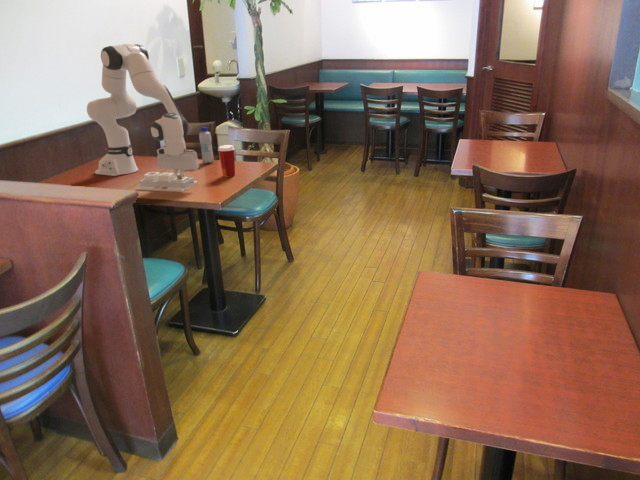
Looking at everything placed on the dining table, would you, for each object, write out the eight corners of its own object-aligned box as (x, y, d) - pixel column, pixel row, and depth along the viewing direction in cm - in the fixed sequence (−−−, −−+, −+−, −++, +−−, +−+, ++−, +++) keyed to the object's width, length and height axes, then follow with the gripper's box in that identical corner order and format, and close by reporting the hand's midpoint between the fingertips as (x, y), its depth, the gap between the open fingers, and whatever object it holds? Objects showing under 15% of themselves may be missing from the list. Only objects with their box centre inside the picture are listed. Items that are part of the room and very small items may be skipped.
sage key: (158, 181, 242) (157, 175, 241) (164, 178, 247) (163, 172, 246) (168, 182, 241) (167, 175, 240) (175, 178, 246) (174, 172, 245)
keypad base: (137, 189, 242) (135, 182, 241) (154, 181, 255) (153, 174, 254) (182, 192, 236) (181, 184, 234) (197, 182, 249) (196, 175, 247)
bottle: (211, 164, 283) (207, 128, 275) (200, 164, 284) (195, 128, 276) (216, 161, 289) (212, 125, 281) (205, 161, 290) (200, 125, 283)
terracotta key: (173, 185, 241) (172, 179, 240) (179, 182, 246) (178, 176, 245) (183, 186, 240) (182, 179, 239) (189, 183, 245) (188, 176, 243)
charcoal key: (145, 181, 244) (143, 174, 243) (151, 177, 249) (150, 171, 248) (155, 181, 243) (153, 175, 242) (161, 178, 248) (160, 172, 247)
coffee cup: (239, 173, 262) (236, 144, 256) (233, 178, 254) (230, 148, 248) (225, 173, 264) (221, 144, 258) (218, 177, 256) (214, 148, 251)
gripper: (199, 148, 236) (203, 177, 242) (160, 147, 242) (165, 175, 247) (192, 151, 231) (197, 180, 236) (153, 150, 236) (158, 179, 241)
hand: (180, 178), depth 242 cm, fingers closed, pressing on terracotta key
